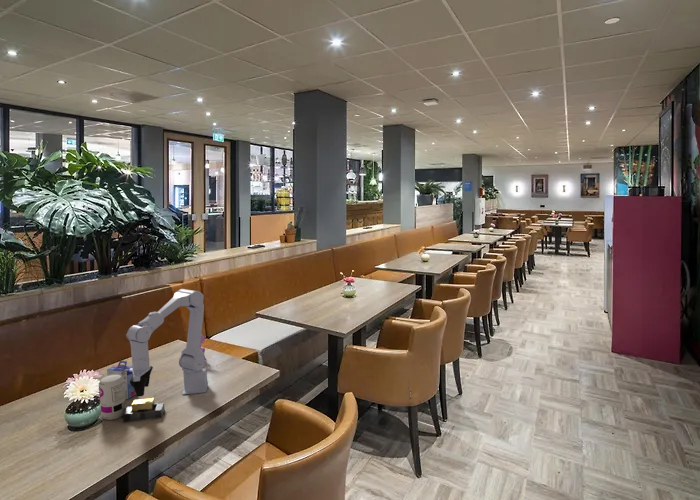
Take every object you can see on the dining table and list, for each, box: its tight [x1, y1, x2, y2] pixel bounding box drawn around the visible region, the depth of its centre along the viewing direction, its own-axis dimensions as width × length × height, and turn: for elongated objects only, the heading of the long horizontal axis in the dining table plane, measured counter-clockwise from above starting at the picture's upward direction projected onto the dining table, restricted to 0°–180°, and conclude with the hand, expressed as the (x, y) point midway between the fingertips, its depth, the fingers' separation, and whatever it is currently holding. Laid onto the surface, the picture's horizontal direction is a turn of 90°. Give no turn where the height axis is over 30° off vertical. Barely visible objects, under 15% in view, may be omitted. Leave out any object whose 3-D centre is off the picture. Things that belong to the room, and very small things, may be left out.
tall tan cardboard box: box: [131, 397, 155, 413], centre depth 155 cm, size 7×4×6 cm, turn 103°
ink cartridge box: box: [106, 360, 137, 400], centre depth 171 cm, size 10×6×14 cm, turn 79°
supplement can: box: [98, 374, 127, 421], centre depth 155 cm, size 8×8×15 cm
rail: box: [122, 401, 165, 423], centre depth 156 cm, size 13×6×3 cm, turn 104°
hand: (143, 391), depth 155 cm, fingers open, 7 cm apart
